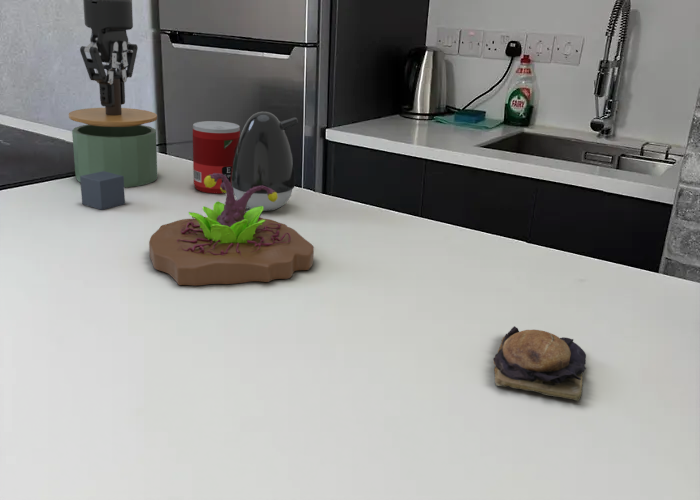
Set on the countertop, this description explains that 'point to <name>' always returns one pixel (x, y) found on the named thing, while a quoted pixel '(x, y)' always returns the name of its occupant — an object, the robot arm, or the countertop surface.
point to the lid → (113, 113)
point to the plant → (229, 243)
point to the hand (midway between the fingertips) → (113, 104)
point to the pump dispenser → (264, 161)
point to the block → (102, 190)
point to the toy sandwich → (540, 363)
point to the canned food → (213, 152)
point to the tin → (116, 152)
